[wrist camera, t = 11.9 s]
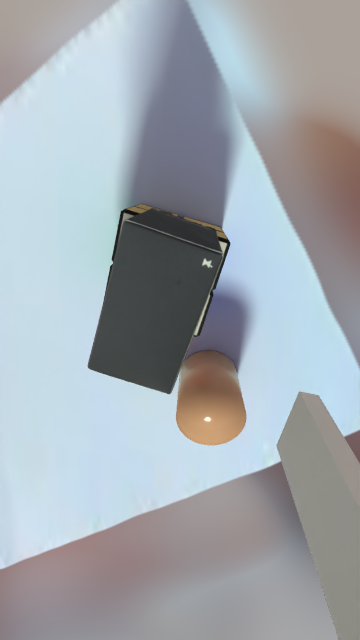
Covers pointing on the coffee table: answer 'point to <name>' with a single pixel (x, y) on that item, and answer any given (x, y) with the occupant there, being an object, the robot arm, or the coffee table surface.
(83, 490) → the coffee table surface
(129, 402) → the coffee table surface
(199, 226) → the small box
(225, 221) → the coffee table surface
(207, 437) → the tan rounded capsule
